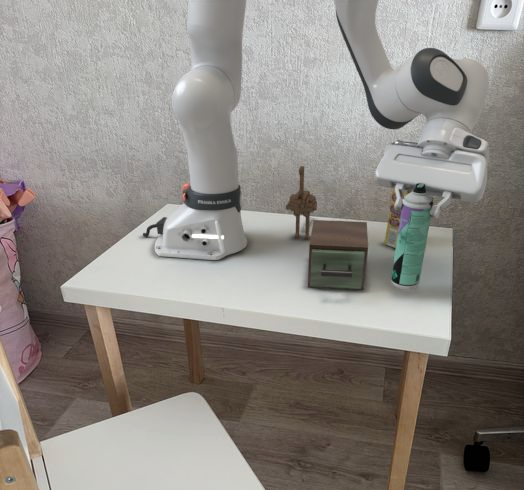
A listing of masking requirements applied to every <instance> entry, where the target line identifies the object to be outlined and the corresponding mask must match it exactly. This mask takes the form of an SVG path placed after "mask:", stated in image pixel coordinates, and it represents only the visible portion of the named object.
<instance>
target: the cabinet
mask: <svg viewBox="0 0 524 490" xmlns="http://www.w3.org/2000/svg"><path fill="white" fill-rule="evenodd" d="M309 238H310V239H309V245H308V267H307V268H308V270H307V288H315V289H334V290H350V291H364V290H365V289H364V288H365V281H366V280H365V279H366V273H367V272H366V270H367V263H368V262H367V261H368V254H369V253H368V251H369V241H368V240H369V239H368V238H369V237H368V222H367V221H350V220H349V221H348V220H347V221H346V220H326V219H325V220H324V219H313V220H312V227H311V232H310V237H309ZM312 249H336V250H358V251H364V252H365V256H364V266H363V275H362V285H361V289H351V288H333V287H314V286H310V281H311V257H312Z"/></svg>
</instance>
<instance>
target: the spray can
mask: <svg viewBox="0 0 524 490" xmlns="http://www.w3.org/2000/svg"><path fill="white" fill-rule="evenodd" d="M427 193H428V192H427V191H426V189H425V184H423V183H417V184H416V187H415V188H414V190H412V192H411V193H409V194H406V195H405V196H404V199H403V203H402V210H401V217H400V223H399V230H398V237H397V244H396V248H395V251H394V257H393V258H394V259H393V264H392V270H391V271H392V272H391V278H390V283H391V285H392V286H393V287H394V288H398V289H401V290H413V289H416V288H417V287H419V284H420V280H421V279H420V278H421V273H422V268H423V262H424V257H425V252H426V246H427V240H428V235H429V229H430V224H431V218H432V217H430V215H429V212H430V210H431V207H432V205H434V196H433V195H429V194H427Z"/></svg>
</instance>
